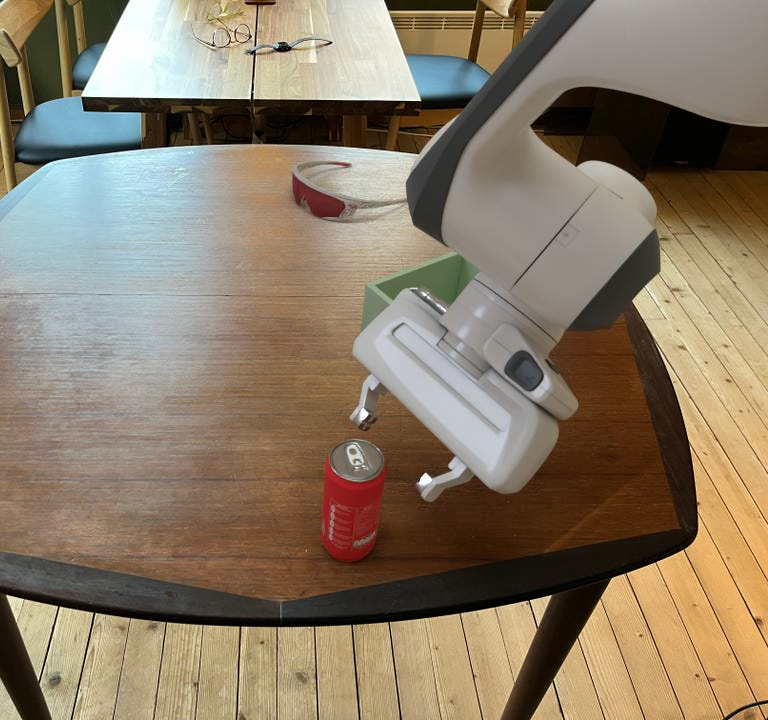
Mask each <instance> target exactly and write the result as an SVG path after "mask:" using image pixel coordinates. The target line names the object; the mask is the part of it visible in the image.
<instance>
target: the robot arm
mask: <svg viewBox="0 0 768 720" xmlns="http://www.w3.org/2000/svg"><path fill="white" fill-rule="evenodd" d="M581 87H582V88H583V87H592V88H603V89H609V90H614V91H621V92H625V93H630V94H633V95H638V96H642V97H645V98H649V99H652V100H656V101H659V102H662V103H665V104H668V105H671V106H673V107H677V108H679V109H682V110H685V111H687V112H691V113H693V114H696V115H698V116H701V117H705V118H707V119H711V120H715V121H719V122H723V123H727V124H733V125H739V126H747V127H762V128H763V127H768V0H553V1H552V2H551V4H550V5H549V6H548V7H547V8H546V10H545V11H544V12H543V13H542V14H541V15H540V17H538V19H537V20H536V21H535V22H534V24H532V25H531V27H530V28H529V29H528V31H527V32H525V34H524V35H523V36H522V37H521V39H520V40H519V41H518V42H517V44H515V46H514V47H513V48H512V50H511V51H510V52H509V53H508V54H507V56H505V58H504V59H503V60H502V62H501V63H500V64H499V65H498V66H497V68H496V69H495V70H494V72H493V73H492V74H491V75H490V76H489V78H487V80H486V81H485V82H484V84H483V85H482V86H481V87H480V88H479V90H478V91H477V92H476V93H475V94H474V96H473V97H472V99H471V100H470V101H469V102H468V103H467V105H466V106H465V107H464V108H463V110H461V112H460V113H458V114H457V115H456V116H455V117H453V118H452V119H451V120H450V121H448V122H447V123H446V124H445V125H443V126H442V127H441V128H440V129H439V130H438V131H437V132H436V133H435V134H434V135H433V136H432V137H431V139H430V140H429V141H428V142H427V143H426V144H425V145H424V147H423V148H422V150H421V151H420V153H418V155H417V157H416V159H415V160H414V162H413V164H412V166H411V168H410V171H409V173H408V174H409V175H408V177H407V178H406V180H405V195H406V198H407V202H406V203H407V206H408V210H409V215H410V218H411V222H412V225H413V227H415V228H417V229H418V230H420V231H421V232H423V233H424V234H426V235H428V236H429V237H431V238H432V239H434V240H435V241H437V242H438V243H440V244H441V245H443V246H444V247H446V248H450V249H452V251H455V252H456V253H458V254H459V255H460V256H462V257H463V258H464V259H465V260H467V261H468V262H469V263H471V264H472V265H473V266H474V267H476V268H477V269H478V270H480V271H481V272H479V273H478V274H477V275H476V276H475V277H474V278H473V279H472V280H471V282H470V283H469V284H468V285H467V286H466V288H465V289H464V290H463V291H462V292H461V294H460V295H459V296H458V297H457V298H456V300H455V301H454V302H453V303H452V305H451V306H450V305H449V304H447V303H446V302H445V301H443V300H441V299H440V298H438V297H437V296H435V295H434V293H433V292H432V291H431V290H429V289H428V288H426V287H424V286H422V287H420V288H419V287H410V288H405V289H404V290H402V291H401V292H400V293H399V294H398V296H397V297H396V298H395V299H394V301H393V302H392V303H391V305H390V306H388V307H387V308H386V309H385V310H384V311H383V312H381V313H380V314H379V315H378V316H377V317H376V318H375V319H374V320H373V321H372V322H371V323H370V324H369V325H368V326H367V327H366V328H365V329H364V330H363V331H362V332H361V331H360V333H359V334H358V335H357V337H356V338H355V340H354V341H353V345H352V352H351V354H352V356H353V358H355V360H357V362H358V363H360V364H361V365H362V366H363V367H364V368H365V369H366V370H367V371H368V373H370V374H369V375H368V376H367V377H366V378H365V380H364V381H363V383H362V387H361V392H360V396H359V401H358V406H356V408H355V409H354V410H353V411H352V413H351V414H350V415H349V417H348V419H349V421H350V422H351V423H352V424H353V425H354V426H355V427H356V428H357V429H358V430H359V431H362V432H365V433H366V432H368V431H369V430H370V429H371V428H372V425H374V424H375V423H376V422H377V421H378V420H379V417H378V416H377V415H376V414H375V411H376V407H377V403H378V400H379V397H380V396H381V397H385V396H386V395H387V394H388V392H390V393H391V394H392V395H393V396H394V397H395V399H397V400H398V401H399V402H400V403H401V404H402V405H403V406H404V407H405V408H406V409H407V410H408V411H409V412H410V413H411V414H412V415H413V416H414V417H415V418H416V419H417V420H418V421H419V422H420V423H421V424H422V425H423V426H424V427H425V428H426V429H428V431H429V432H431V433H432V434H433V435H434V437H436V438H437V439H438V440H439V441H440V442H441V443H442V444H443V445H444V446H445V447H446V448H447V450H449V451H450V452H451V453H452V454H453V455H454V457H453V459H452V460H451V461H450V462H449V463H448V464H447V467H448V468H449V469H450V471H448V472H446V473H443V474H440V475H438V476H435V475H433V474H430V473H428V472H425V473H424V474H423V475H422V476H421V477H420V479H419V481H417V482H416V483H415V484H414V485H413V490H415V491H416V492H417V494H418V495H419V496H420V497H421V498H422V499H423V500H424V501H425V502H429V503H433V502H434V501H436V500H437V498H438V497H440V495H441V494H442V493H443V492H444V490H445V489H450V488H452V487H456V486H458V485H462V484H465V483H468V482H470V481H471V480H472V479H473V478H474V476H476V477H477V478H478V479H479V480H480V481H481V482H482V483H483V484H484V485H485V486H486V487H487V488H488V489H490V490H491V491H494V492H496V493H498V494H501V495H511V494H515V493H518V492H520V491H521V490H522V489H523V488H524V487H525V486H527V484H528V483H530V480H531V479H532V478H533V477H534V476H535V474H536V473H537V472H538V471H539V469H540V468H541V467H542V466H543V464H544V463H545V461H546V460H547V458H548V457H549V455H550V454H551V453H552V451H553V449H554V448H555V446H556V444H557V442H558V438H559V434H560V428H559V423H558V421H557V420H556V419H558V420H560V421H566V420H569V419H570V418H571V417H572V416H573V415H574V414H575V413H576V412H577V411H578V409H579V401H578V399H577V398H576V396H575V393H573V392H572V390H571V388H570V387H569V385H568V384H567V382H566V381H565V379H564V378H563V377H562V375H561V373H560V372H559V370H558V369H557V367H556V365H554V362H553V361H552V360H551V358H550V357H549V356H550V353H551V352H552V350H554V349H555V347H556V346H557V344H559V343H560V341H561V340H562V338H563V336H564V334H565V332H566V331H567V332H594V331H595V332H596V331H604V330H610V329H612V327H613V326H614V325H615V323H616V322H617V320H618V319H619V318H620V316H621V315H622V314H623V313H624V311H625V310H626V309H627V308H628V307H629V305H630V304H631V303H632V301H633V300H634V299H635V298H636V297H637V296H638V295H639V294H640V293H641V291H642V290H643V289H644V288H645V287H646V286H647V285H648V284H649V283H650V282H651V281H652V280H653V279H654V278H655V277H657V275H659V274H660V273H661V270H662V269H661V265H662V264H661V263H662V262H661V260H662V259H661V258H662V257H661V245H660V238H659V234H658V230H657V228H655V227H654V226H653V224H654V222H655V220H656V218H657V215H658V207H657V204H656V201H655V199H654V197H653V195H652V194H651V192H650V190H649V189H647V187H646V186H645V185H644V184H643V183H642V182H641V181H640V180H639V179H638V178H636V177H635V176H634V175H632V174H631V173H630V172H628V171H626V170H625V169H623V168H621V167H619V166H617V165H616V164H612V163H609V162H606V161H602V160H586V161H584V162H582V163H579V165H577V166H575V165H574V164H573V163H572V162H570V161H568V160H567V159H566V158H565V157H563V156H562V155H560V154H559V153H557V152H556V151H555V150H553V148H551V147H550V146H548V144H546V143H544V142H543V140H542V139H541V138H540V137H538V136H537V134H536V133H535V132H534V130H533V129H532V126H531V125H532V124H534V122H535V121H536V120H537V119H538V118H539V117H540V116H541V115H542V114H543V113H544V112H545V111H546V110H548V108H549V107H550V106H551V105H552V104H553V103H554V102H555V101H556V100H557V99H559V97H561V95H563V93H565V92H566V91H568V90H571V89H575V88H581ZM412 291H417V295H418V296H419V297H420V298H419V297H418V296H417V295H416V294H414V293H413V292H412ZM426 302H427V303H428V304H430V305H431V306H432V307H433V308H434V309H435V310H434V309H433V308H432V307H431V306H429V305H428V304H427V303H426Z"/></svg>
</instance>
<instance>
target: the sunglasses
mask: <svg viewBox="0 0 768 720" xmlns="http://www.w3.org/2000/svg"><path fill="white" fill-rule="evenodd" d="M329 165H330V166H339V167H345V168H350V167H352V166H353V163H352V162H347V161H341V160H307V161H301V162H298V163H296V164H294V165H293V167H292V171H291V191H292V198H293V201H295V202H296V204H297V205H302V204H303V202H305V201H306V203H307V206H308V208H309V210H310V212H311V213H312V215H313V216H315V217H318V218H321V219H323V220H329V221H344V220H347V219H348V218H349V217H353V216H354V215H355V213H356V212H357V211H358V210H372V209H379V208H383V207H384V208H385V207H389V206H393V205H399V204H405V203H408V202H407V197H403V198H398V199H391V200H373V199H372V200H371V199H370V200H369V199H361V198H356V197H352V196H349V195H345V194H341V193H338V192H335V191H331V190H329V189H327V188H324V187H321V186H319V185H317V184H316V183H315V184H314V183H313V182H312V181H310V180H309V179H307V178H306V177H304V176H303V175H302V174H301V172H303V171H305V170H307V169H311V168H314V167H318V166H320V167H321V166H329Z"/></svg>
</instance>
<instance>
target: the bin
mask: <svg viewBox="0 0 768 720" xmlns="http://www.w3.org/2000/svg"><path fill="white" fill-rule="evenodd" d="M479 272H481V271H480V270H478V269H477V268H476V267H474V266H473V265H472V264H471V263H469V262H468V261H467V260H465V259H464V258H463V257H462V256H460V255H459V254H458V253H456V252H455V251H454V250H452V251H450V252H447V253H444V254H442V255H440V256H436V257H433V258H431V259H429V260H426V261H423V262H420V263H418V264H415V265H413V266H409V267H407V268H404V269H402V270H399V271H396V272H394V273H391V274H388V275H386V276H383V277H380V278H378V279H375V280H371V281H369V282H367V283H365V285H364V294H363V306H362V313H361V314H362V316H361V324H360V325H361V327H360V333H361V332H362V331H363V330H364V329H365V328H366V327H367V326H368V325H369V324H370V323H371V322H372V321H373V320H374V319H375V318H376V317H377V316H378V315H379V314H380V313H381V312H383V311H384V310H385V309H386V308H387V307H388V306H390V305H391V303H392V302H393V301H394V299H395V298H396V297H397V296H398V294H399V293H400V292H401V291H402V290H404V289H405V288H410V287H419V288H420V287H422V286H424V287H426V288H428V289H429V290H431V291H432V292H433V293H434V295H435V296H437V297H438V298H440V299H441V300H443V301H445V302H446V303H447V304H449V305H450V306H451V305H452V303H453V302H454V301H455V300H456V298H457V297H458V296H459V295H460V294H461V292H462V291H463V290H464V289H465V288H466V286H467V285H468V284H469V283H470V282H471V280H472V279H473V278H474V277H475V276H476V275H477V274H478V273H479ZM412 292H413V293H414V294H416V295H417V291H412ZM417 296H418V295H417ZM418 297H419V296H418ZM419 298H420V297H419ZM426 303H427V302H426ZM427 304H428V303H427ZM428 305H429V306H431V305H430V304H428ZM431 307H432V306H431ZM432 308H433V307H432ZM433 309H434V308H433ZM434 310H435V309H434Z"/></svg>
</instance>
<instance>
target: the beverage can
mask: <svg viewBox="0 0 768 720" xmlns="http://www.w3.org/2000/svg"><path fill="white" fill-rule="evenodd" d="M324 470H325V471H324V481H323V495H322V497H323V498H322V509H321V510H322V512H321V522H320V523H321V526H320V540H321V543H322V545H323V546H324V548H325V549H326V551H327V553H328V554H329V555H330V556H331V557H332V558H333V559H334V560H337V561H339V562H343V563H355V562H358V561H361V560H363V559H364V558H365V557H366V556H367V555H368V554H369V553H370V552H371V551H372V550H373V548H374V547H375V545H376V541H377V533H378V528H379V520H380V516H381V515H380V514H381V507H382V501H383V495H384V488H385V481H386V474H387V463H386V461H385V456H384V454H383V452H382V451H381V450H380V448H379V447H378V446H376V445H374V443H372V442H369V441H367V440H363V439H357V438H351V439H350V438H349V439H345V440H343V441H340V442H338V443H336V444H335V445H334V446H333V447H332V448H331V450H330V451H329V454H328V455H327V456H326V459H325V469H324Z"/></svg>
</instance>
